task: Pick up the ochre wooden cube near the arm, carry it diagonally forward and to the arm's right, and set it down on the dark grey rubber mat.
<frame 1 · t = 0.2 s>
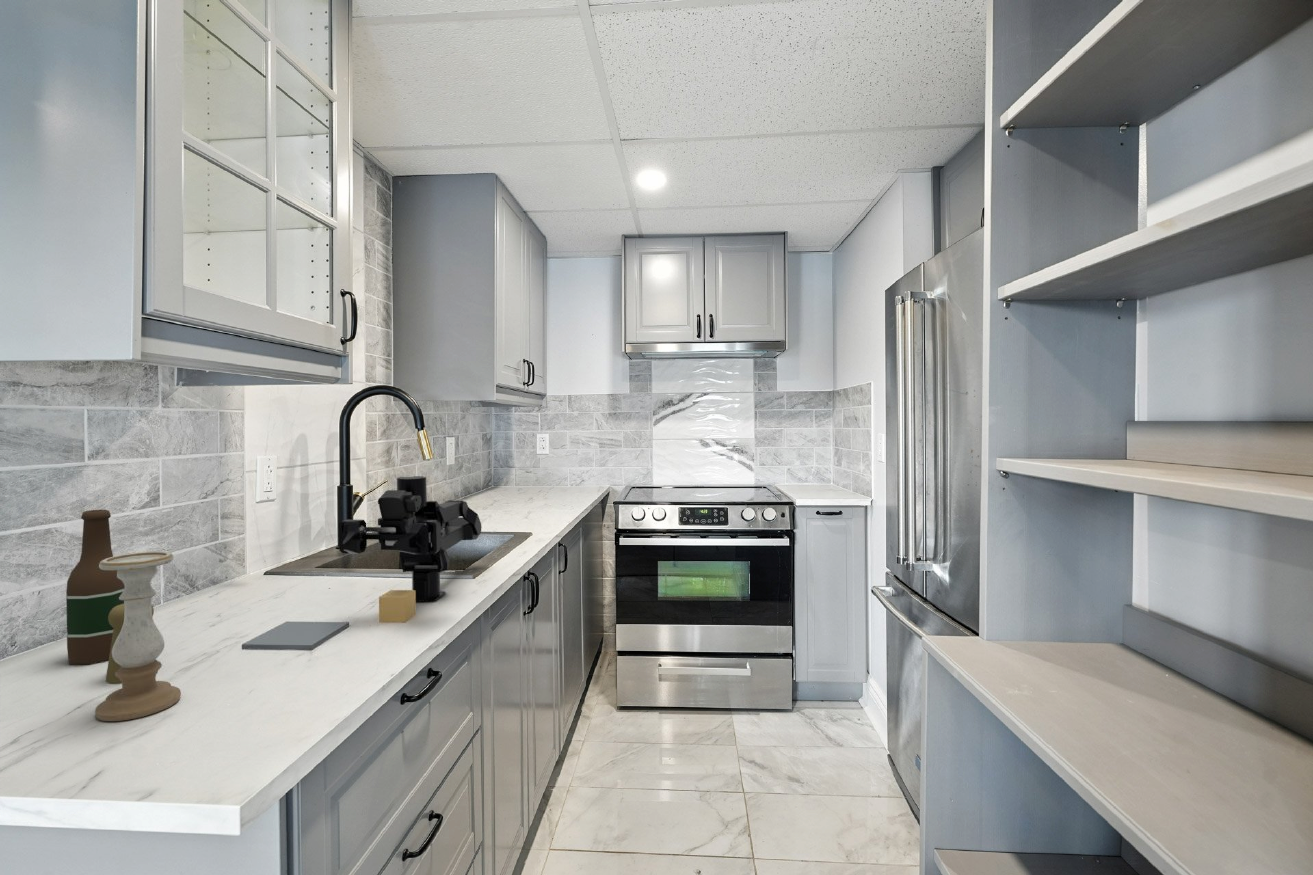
hand: (368, 546, 108), 16 cm above the worktop, tool horizontal, fingers open, 9 cm apart
candle holder: (139, 708, 82), on the worktop
ochre cube: (397, 618, 119), on the worktop
beer bottle: (98, 657, 99), on the worktop
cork: (132, 676, 92), on the worktop
grey mat: (298, 636, 109), on the worktop
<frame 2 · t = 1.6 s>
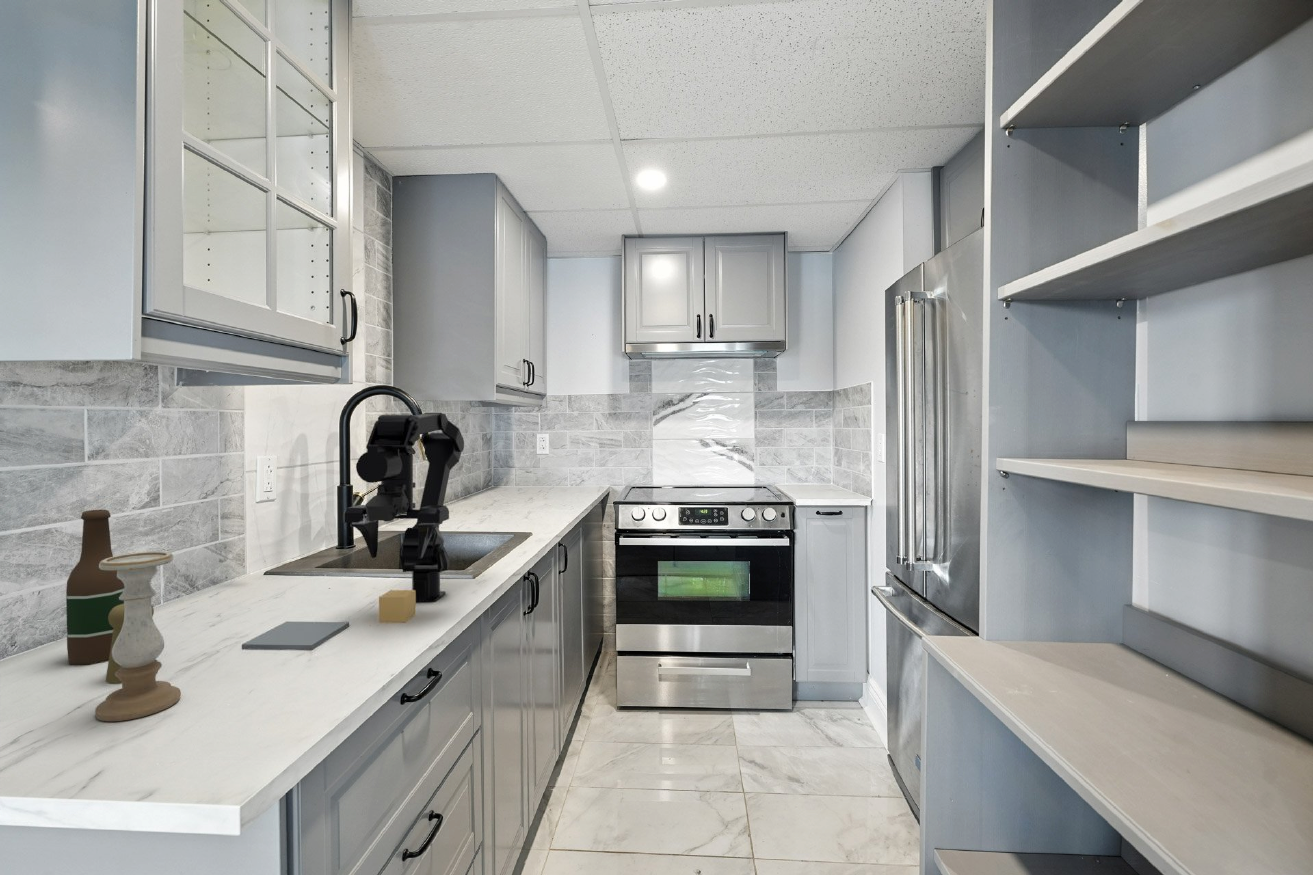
hand: (397, 557, 119), 12 cm above the worktop, tool pointing down, fingers open, 9 cm apart
nothing on the worktop moved.
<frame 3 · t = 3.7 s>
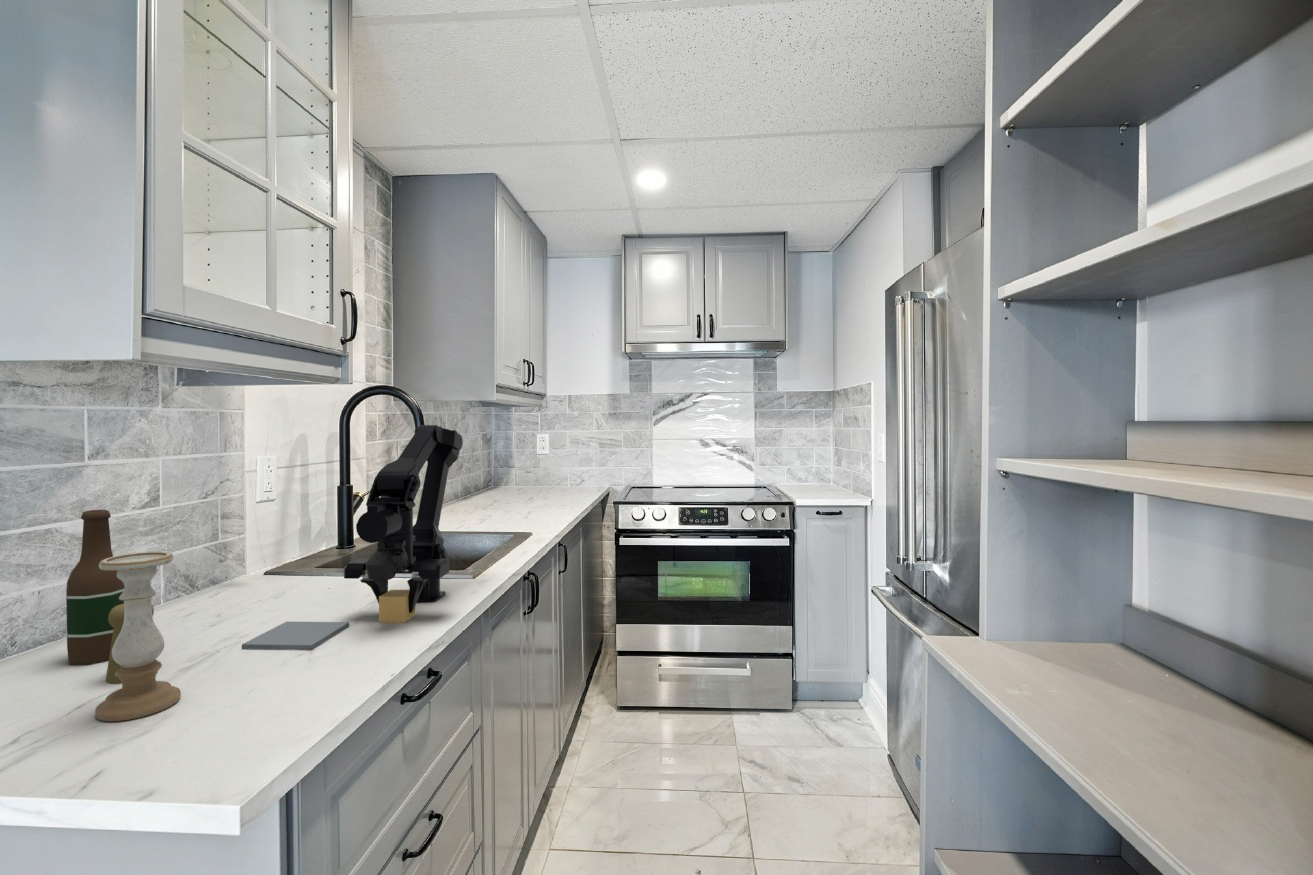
hand: (397, 611, 119), 1 cm above the worktop, tool pointing down, fingers closed on ochre cube, 5 cm apart
ochre cube: (397, 618, 119), on the worktop, touching gripper
everything else where it was.
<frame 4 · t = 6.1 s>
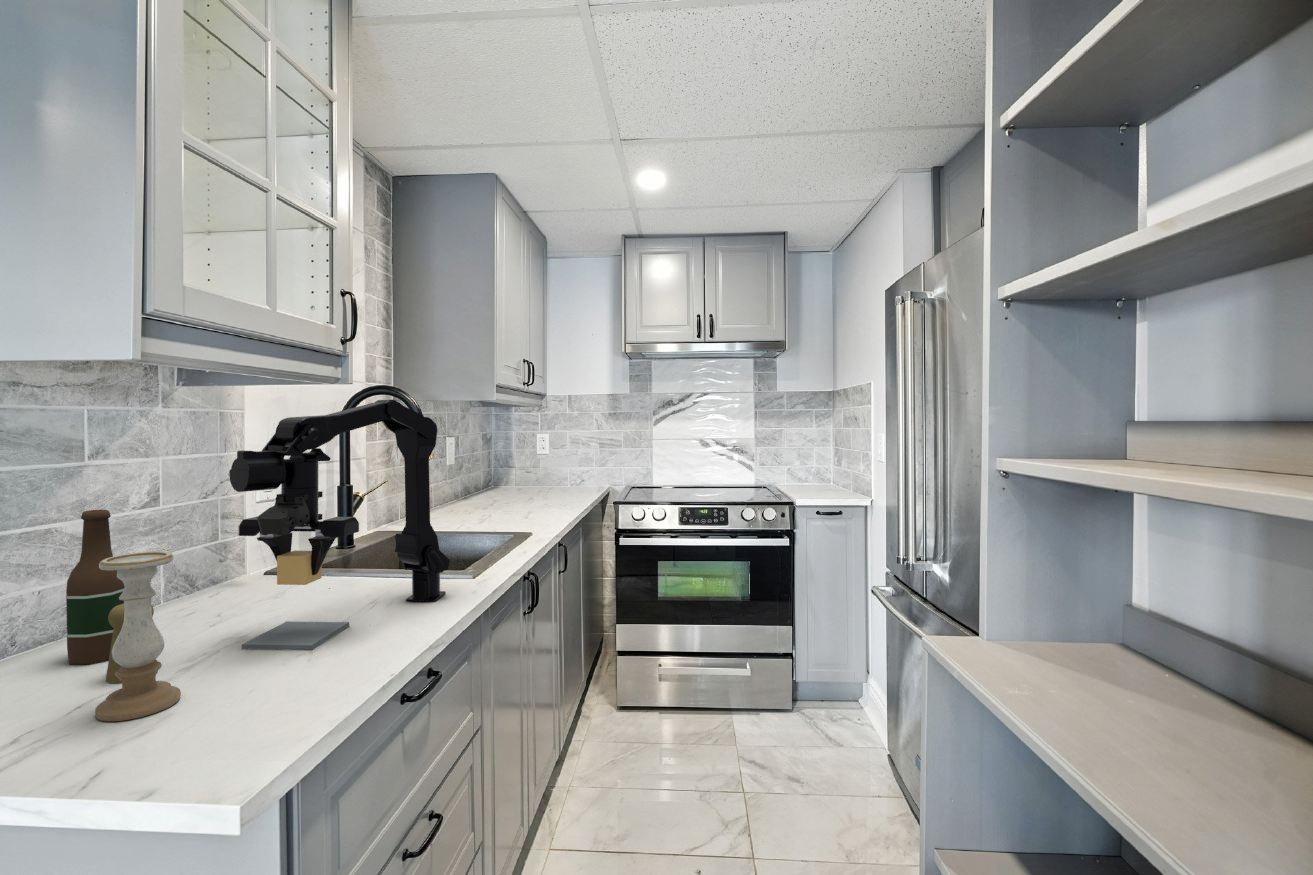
hand: (299, 574, 109), 11 cm above the worktop, tool pointing down, fingers closed on ochre cube, 5 cm apart
ochre cube: (299, 581, 108), point 10 cm above the worktop, touching gripper
everything else where it was.
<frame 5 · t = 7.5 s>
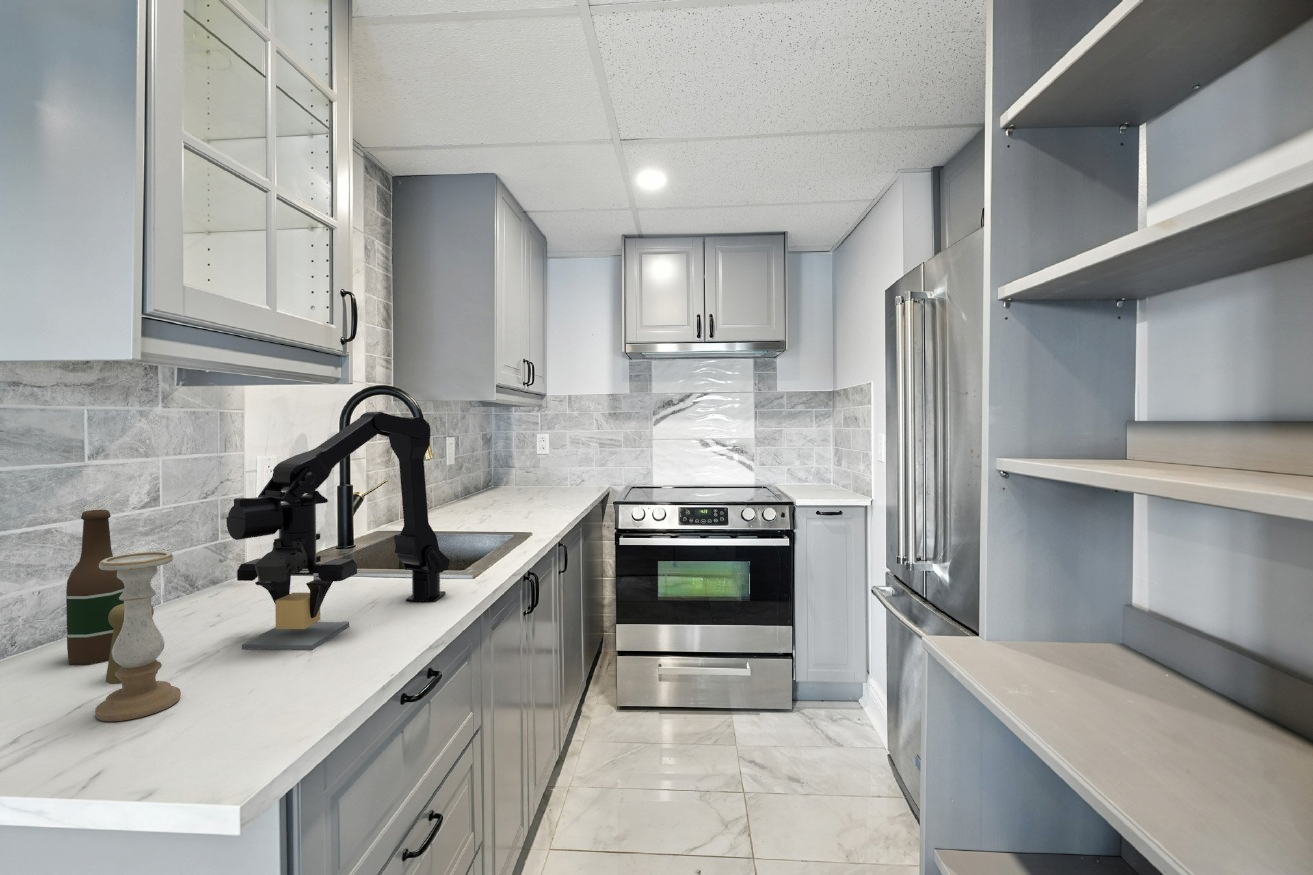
hand: (298, 617, 109), 4 cm above the worktop, tool pointing down, fingers closed on ochre cube, 5 cm apart
ochre cube: (298, 624, 109), point 2 cm above the worktop, touching gripper
everything else where it was.
when the fingers open (3 cm above the worktop, at t = 8.5 s): ochre cube stays where it is, resting on grey mat.
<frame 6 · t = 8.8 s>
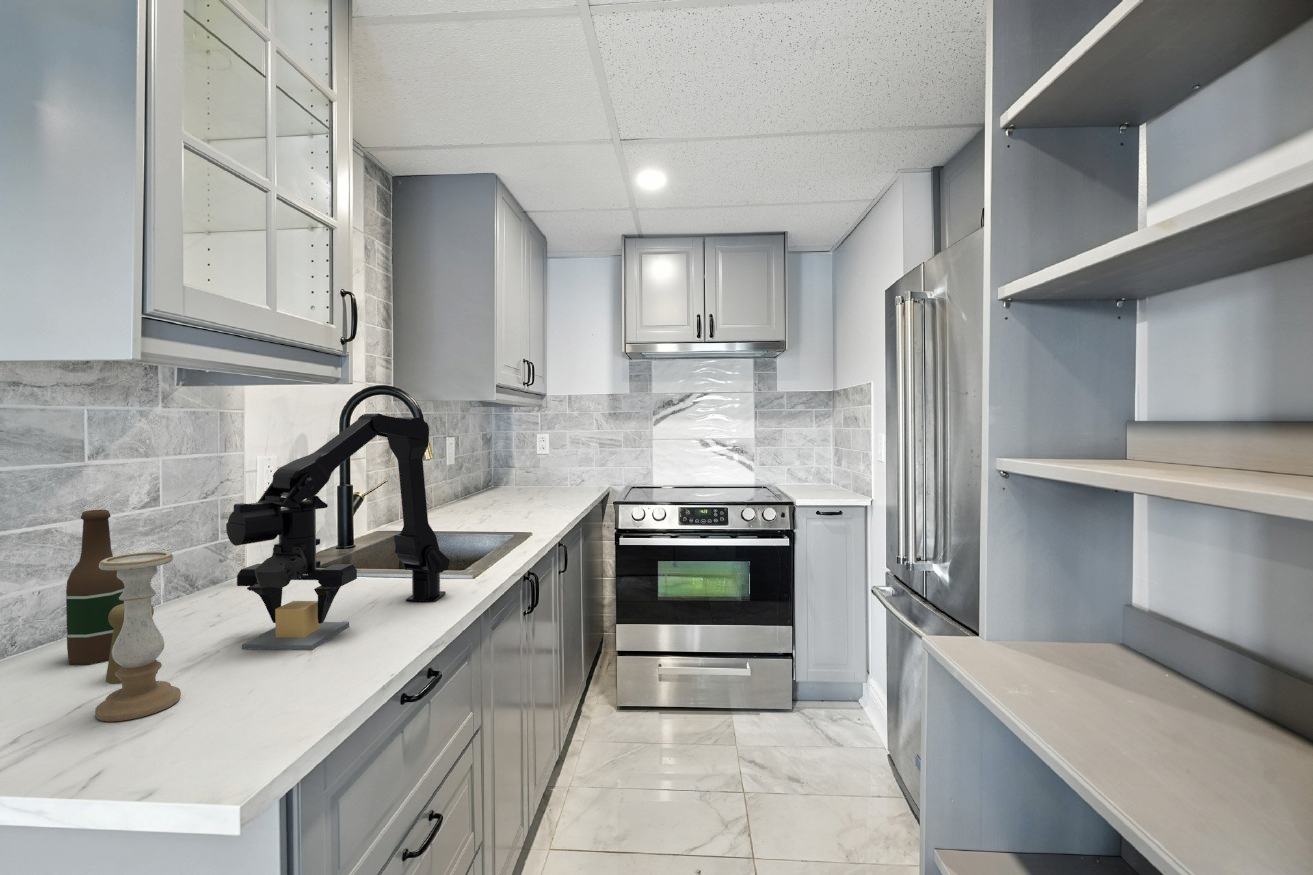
hand: (298, 622, 109), 3 cm above the worktop, tool pointing down, fingers open, 8 cm apart
ochre cube: (298, 632, 109), point 1 cm above the worktop, touching grey mat
everything else where it was.
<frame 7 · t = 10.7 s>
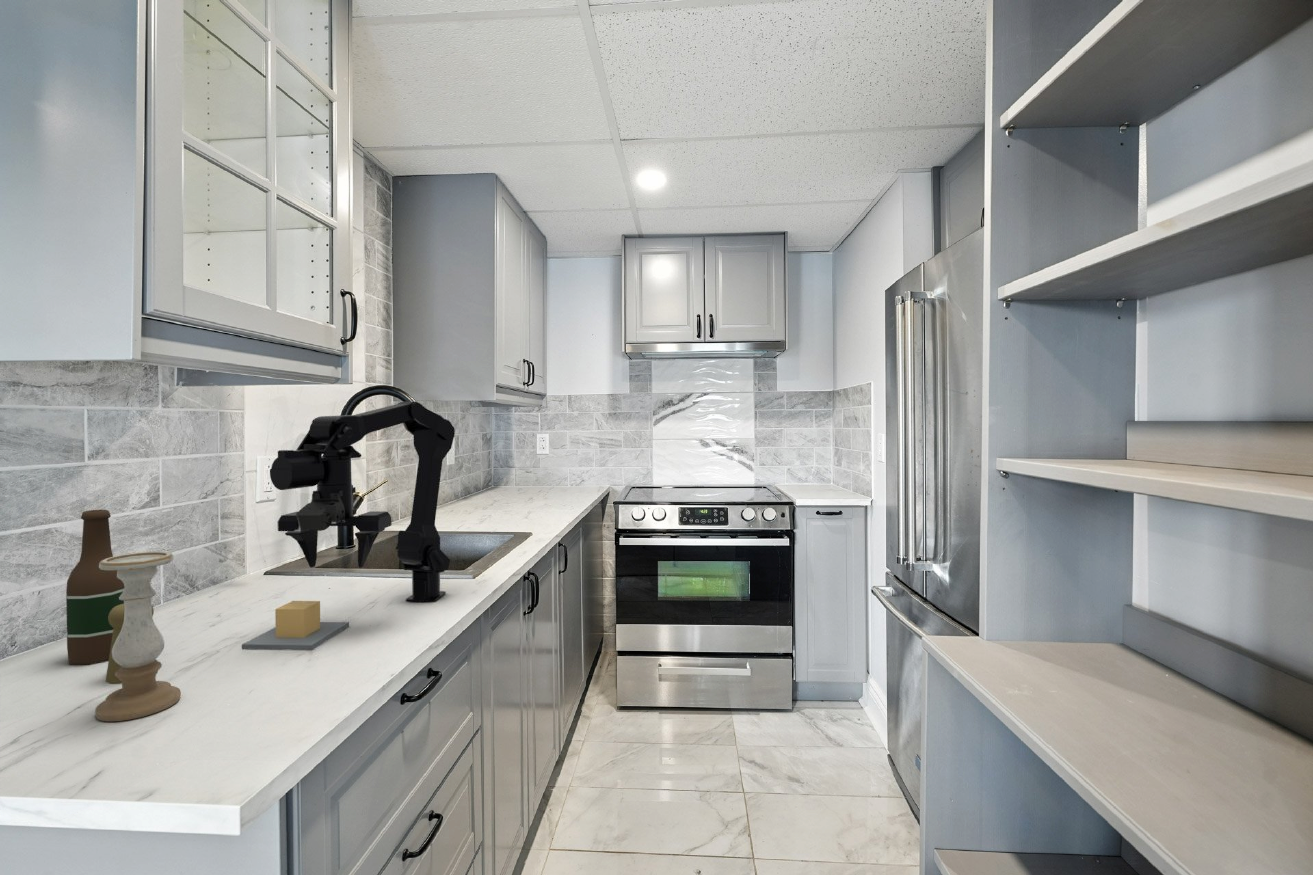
hand: (336, 567, 113), 12 cm above the worktop, tool pointing down, fingers open, 9 cm apart
nothing on the worktop moved.
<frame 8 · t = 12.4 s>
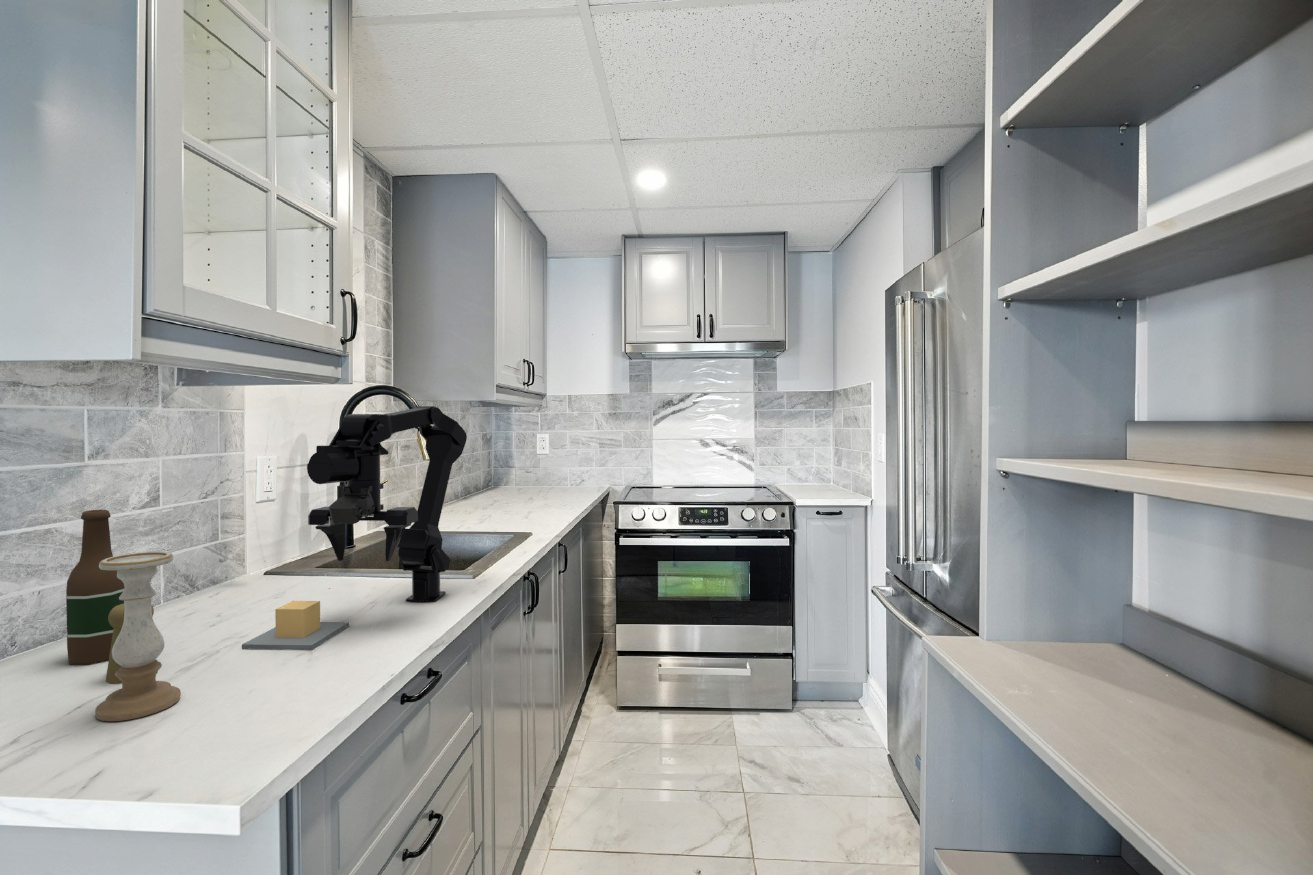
hand: (364, 560, 116), 12 cm above the worktop, tool pointing down, fingers open, 9 cm apart
nothing on the worktop moved.
at the end: ochre cube inside the target area on the grey mat (0.0 cm from its centre), point 0.8 cm above the grey mat's base; ochre cube tilted 0°; the gripper is holding nothing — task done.
